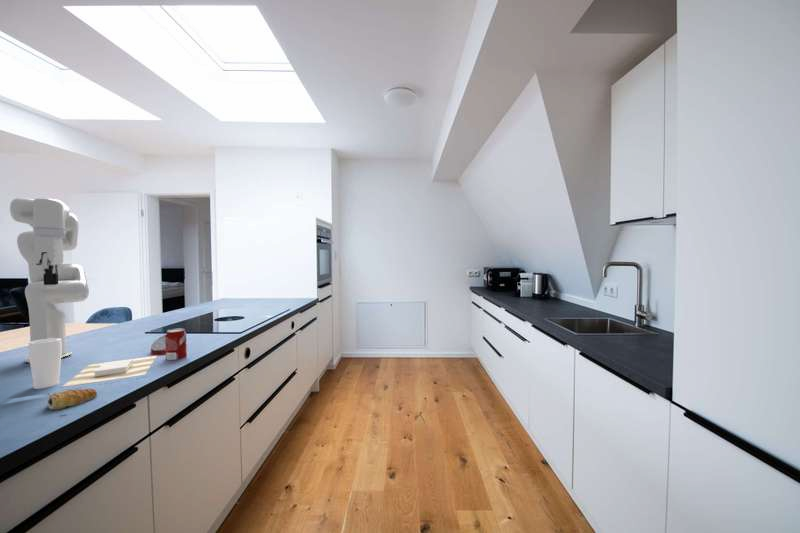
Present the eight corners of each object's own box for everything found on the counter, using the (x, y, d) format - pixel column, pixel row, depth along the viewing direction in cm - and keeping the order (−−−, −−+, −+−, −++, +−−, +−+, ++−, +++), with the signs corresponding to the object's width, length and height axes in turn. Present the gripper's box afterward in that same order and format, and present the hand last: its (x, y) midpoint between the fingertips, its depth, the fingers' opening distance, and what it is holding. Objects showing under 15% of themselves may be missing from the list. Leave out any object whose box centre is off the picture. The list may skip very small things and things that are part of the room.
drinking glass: (32, 394, 91) (30, 344, 91) (27, 389, 95) (26, 341, 94) (65, 386, 97) (64, 339, 96) (60, 382, 100) (58, 336, 100)
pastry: (92, 393, 92) (91, 381, 92) (100, 399, 88) (100, 386, 88) (45, 407, 84) (44, 393, 84) (52, 413, 80) (51, 399, 80)
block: (104, 362, 110) (94, 371, 102) (133, 358, 114) (126, 366, 106) (104, 368, 110) (94, 377, 102) (133, 364, 115) (126, 372, 106)
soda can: (175, 363, 118) (175, 332, 118) (161, 362, 119) (160, 331, 119) (191, 357, 125) (190, 328, 124) (177, 356, 126) (176, 327, 126)
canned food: (180, 363, 132) (185, 344, 130) (150, 366, 125) (155, 347, 122) (175, 346, 139) (179, 328, 137) (146, 349, 132) (151, 330, 129)
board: (89, 367, 114) (89, 364, 114) (157, 358, 125) (157, 355, 124) (61, 390, 94) (61, 387, 94) (145, 377, 104) (145, 374, 104)
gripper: (43, 234, 114) (44, 283, 115) (23, 232, 102) (25, 287, 103) (71, 235, 118) (73, 282, 119) (56, 233, 106) (58, 286, 107)
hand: (51, 284), depth 111 cm, fingers closed
